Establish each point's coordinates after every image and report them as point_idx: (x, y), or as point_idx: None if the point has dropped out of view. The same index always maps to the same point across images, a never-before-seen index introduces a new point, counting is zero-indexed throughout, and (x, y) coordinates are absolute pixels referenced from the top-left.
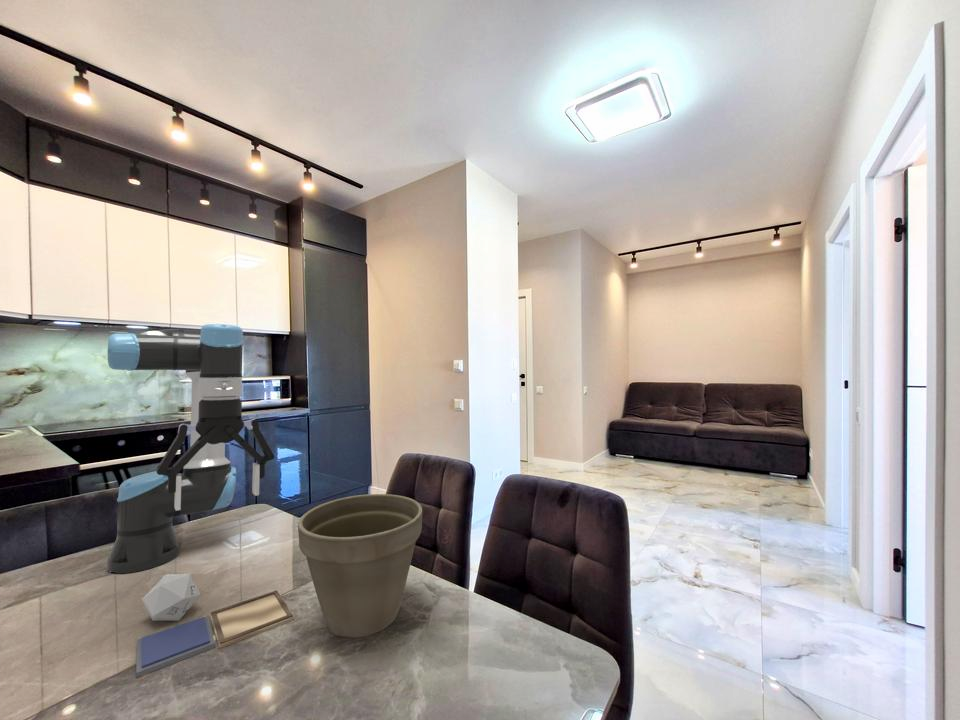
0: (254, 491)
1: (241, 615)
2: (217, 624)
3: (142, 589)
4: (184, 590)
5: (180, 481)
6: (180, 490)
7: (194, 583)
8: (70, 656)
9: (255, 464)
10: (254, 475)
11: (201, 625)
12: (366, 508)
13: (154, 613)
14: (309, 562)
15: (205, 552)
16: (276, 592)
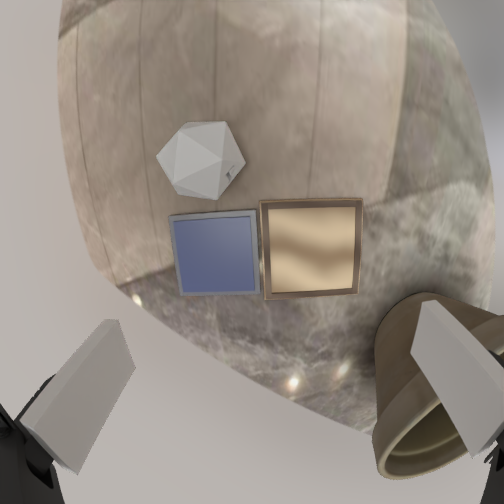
0: (420, 350)
1: (300, 241)
2: (266, 249)
3: (169, 43)
4: (215, 188)
5: (84, 453)
6: (102, 423)
7: (232, 163)
8: (110, 195)
9: (490, 439)
10: (457, 398)
11: (245, 242)
12: None
13: (179, 194)
14: (379, 411)
15: None
16: (359, 208)
